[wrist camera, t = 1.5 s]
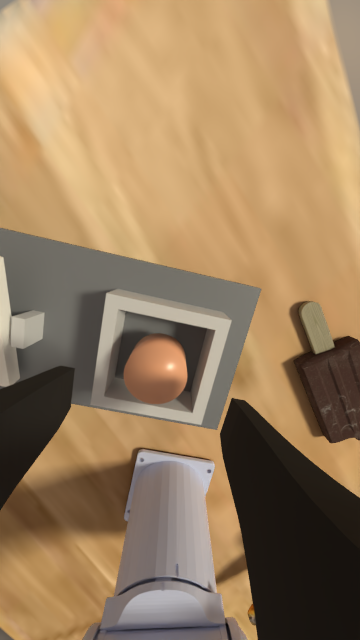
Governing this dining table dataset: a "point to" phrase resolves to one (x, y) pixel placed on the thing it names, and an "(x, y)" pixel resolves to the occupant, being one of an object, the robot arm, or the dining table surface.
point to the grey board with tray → (122, 324)
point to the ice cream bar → (330, 376)
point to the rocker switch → (6, 335)
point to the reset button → (156, 369)
